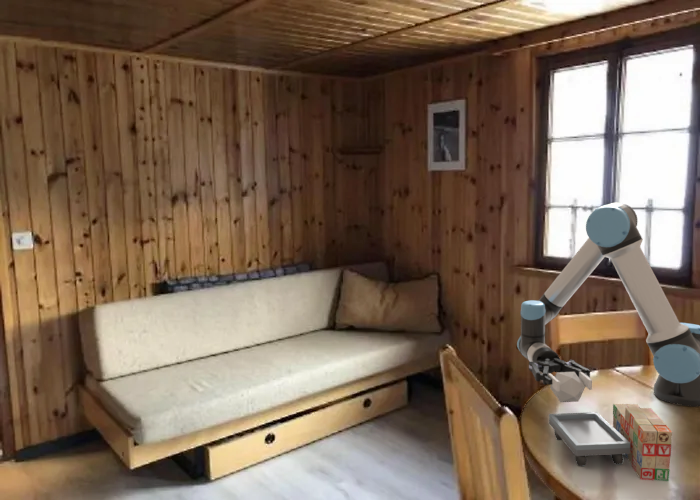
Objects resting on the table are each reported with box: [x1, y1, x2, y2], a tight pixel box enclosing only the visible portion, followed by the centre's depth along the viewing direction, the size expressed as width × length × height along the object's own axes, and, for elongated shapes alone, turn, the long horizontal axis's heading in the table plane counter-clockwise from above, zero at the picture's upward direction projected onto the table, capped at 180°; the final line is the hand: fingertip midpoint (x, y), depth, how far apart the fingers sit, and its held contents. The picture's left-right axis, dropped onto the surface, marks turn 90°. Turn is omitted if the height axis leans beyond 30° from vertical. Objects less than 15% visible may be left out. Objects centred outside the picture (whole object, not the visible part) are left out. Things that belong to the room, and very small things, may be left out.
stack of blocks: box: [612, 403, 673, 482], centre depth 137 cm, size 21×6×12 cm, turn 171°
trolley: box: [548, 411, 630, 467], centre depth 141 cm, size 13×17×6 cm
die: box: [549, 372, 587, 403], centre depth 156 cm, size 8×9×10 cm
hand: (574, 385), depth 151 cm, fingers closed on die, 8 cm apart
